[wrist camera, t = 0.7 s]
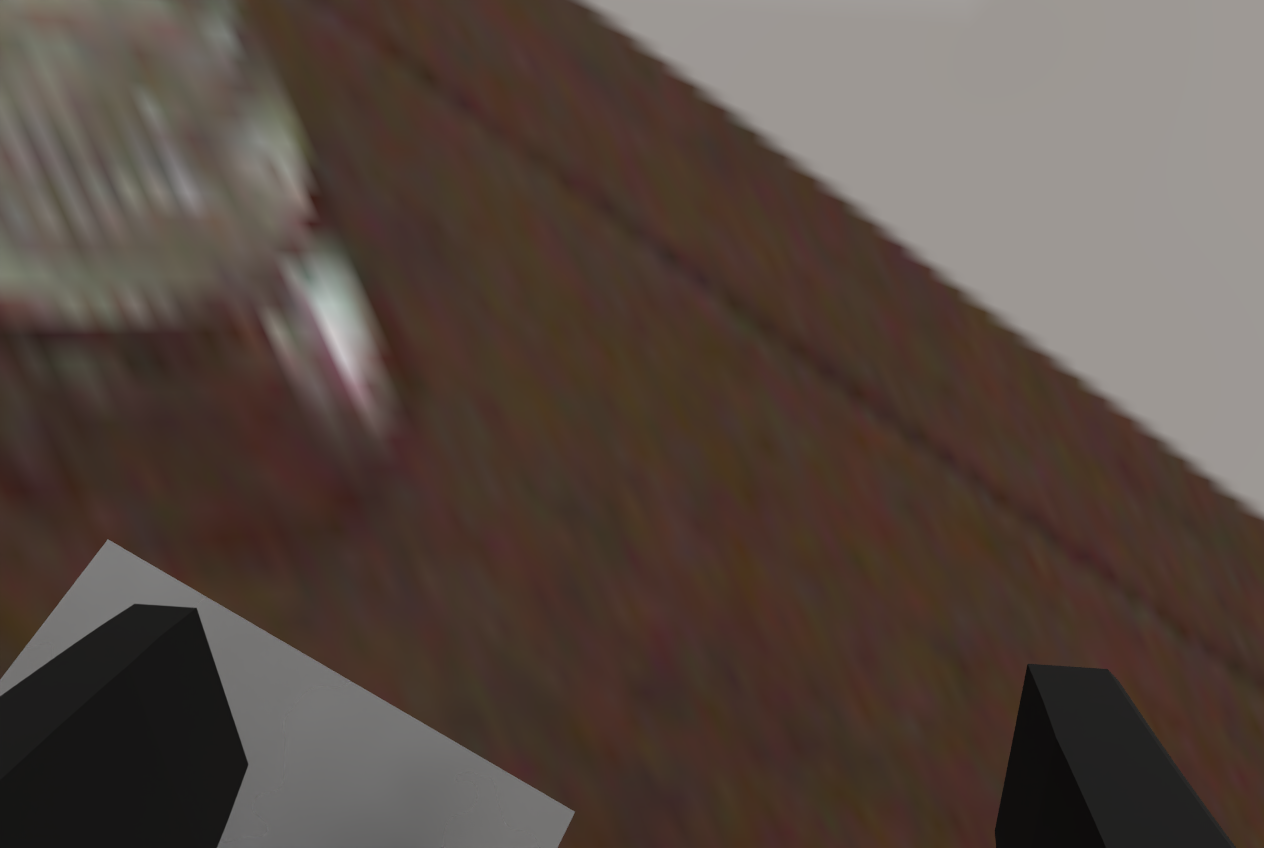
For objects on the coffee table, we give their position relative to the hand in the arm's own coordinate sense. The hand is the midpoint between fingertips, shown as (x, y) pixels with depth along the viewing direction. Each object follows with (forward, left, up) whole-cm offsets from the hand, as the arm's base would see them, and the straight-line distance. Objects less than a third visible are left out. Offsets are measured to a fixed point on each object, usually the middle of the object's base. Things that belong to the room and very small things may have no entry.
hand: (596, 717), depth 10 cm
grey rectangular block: (-1, +1, -16) cm, 17 cm away
